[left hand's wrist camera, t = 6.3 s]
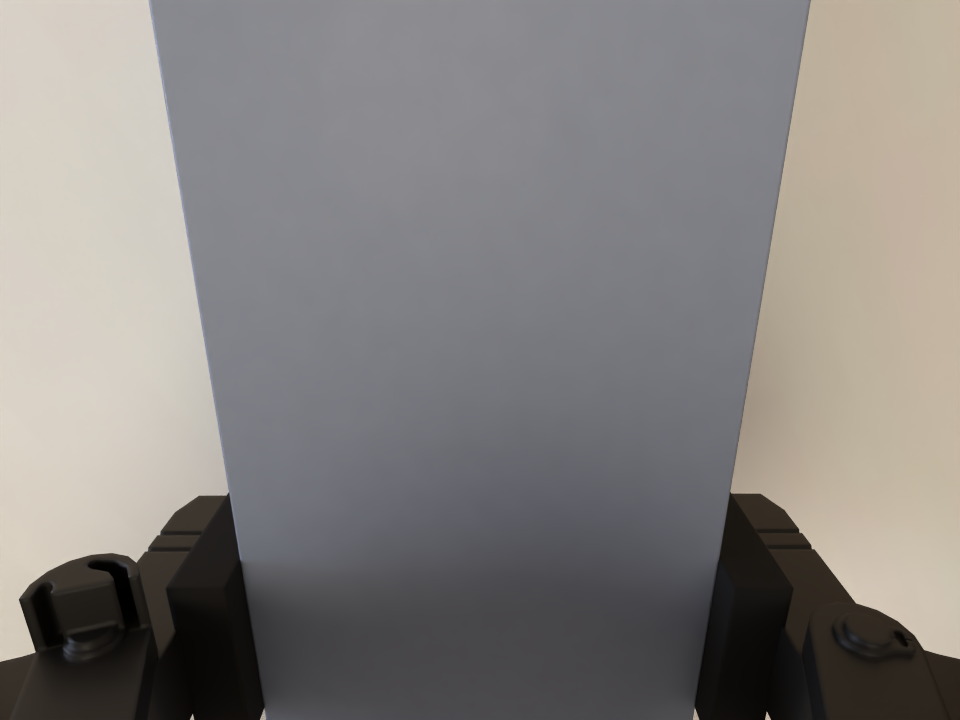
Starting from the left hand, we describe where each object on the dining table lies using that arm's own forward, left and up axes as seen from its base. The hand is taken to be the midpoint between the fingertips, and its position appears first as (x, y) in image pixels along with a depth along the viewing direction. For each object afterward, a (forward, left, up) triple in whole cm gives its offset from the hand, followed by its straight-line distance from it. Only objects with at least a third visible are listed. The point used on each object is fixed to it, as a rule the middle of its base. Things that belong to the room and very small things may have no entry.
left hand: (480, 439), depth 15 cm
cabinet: (+5, -1, -4) cm, 7 cm away
